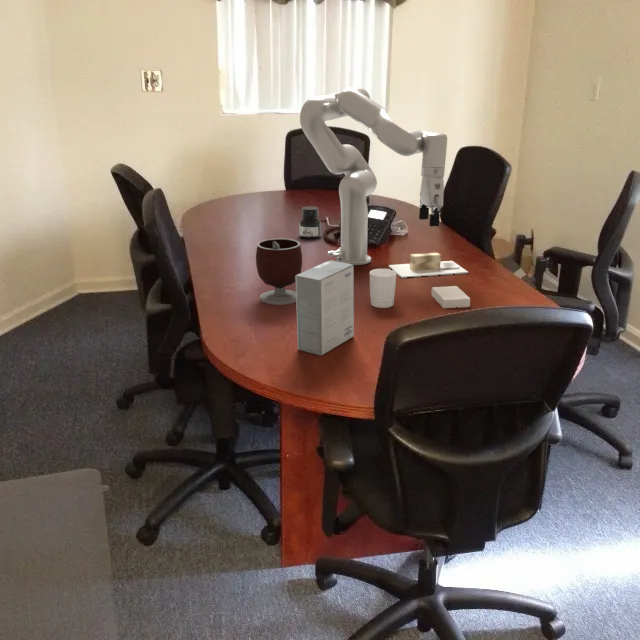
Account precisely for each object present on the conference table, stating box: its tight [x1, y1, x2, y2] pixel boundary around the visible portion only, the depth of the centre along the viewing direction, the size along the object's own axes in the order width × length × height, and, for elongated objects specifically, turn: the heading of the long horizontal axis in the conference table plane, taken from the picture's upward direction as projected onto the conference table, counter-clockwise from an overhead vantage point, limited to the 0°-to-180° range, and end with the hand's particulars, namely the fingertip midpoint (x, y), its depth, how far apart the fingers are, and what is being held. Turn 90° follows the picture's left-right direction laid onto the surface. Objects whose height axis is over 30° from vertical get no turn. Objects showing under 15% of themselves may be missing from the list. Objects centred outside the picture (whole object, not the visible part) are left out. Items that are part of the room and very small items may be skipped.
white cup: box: [369, 268, 397, 309], centre depth 199 cm, size 8×8×10 cm
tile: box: [430, 285, 471, 309], centre depth 203 cm, size 8×3×12 cm
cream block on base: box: [409, 252, 459, 271], centre depth 233 cm, size 16×6×5 cm, turn 103°
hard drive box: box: [295, 260, 355, 357], centre depth 170 cm, size 16×8×20 cm, turn 145°
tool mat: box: [388, 260, 469, 279], centre depth 233 cm, size 24×14×1 cm, turn 103°
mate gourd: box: [255, 238, 303, 306], centre depth 202 cm, size 16×14×20 cm
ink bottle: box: [298, 205, 322, 239], centre depth 276 cm, size 10×9×12 cm
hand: (428, 222), depth 228 cm, fingers open, 9 cm apart
